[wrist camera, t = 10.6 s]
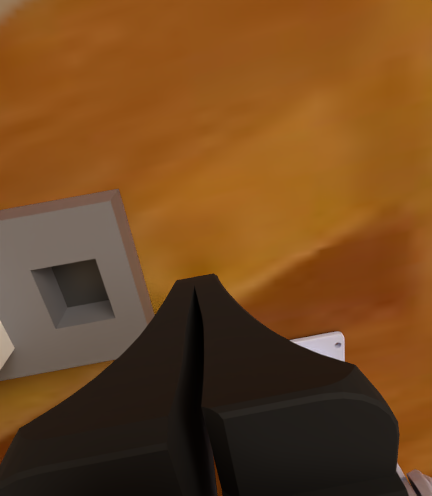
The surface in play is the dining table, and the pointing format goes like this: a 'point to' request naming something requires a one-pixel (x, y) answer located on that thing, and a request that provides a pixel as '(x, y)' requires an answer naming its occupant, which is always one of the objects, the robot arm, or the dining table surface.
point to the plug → (4, 346)
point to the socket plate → (69, 284)
